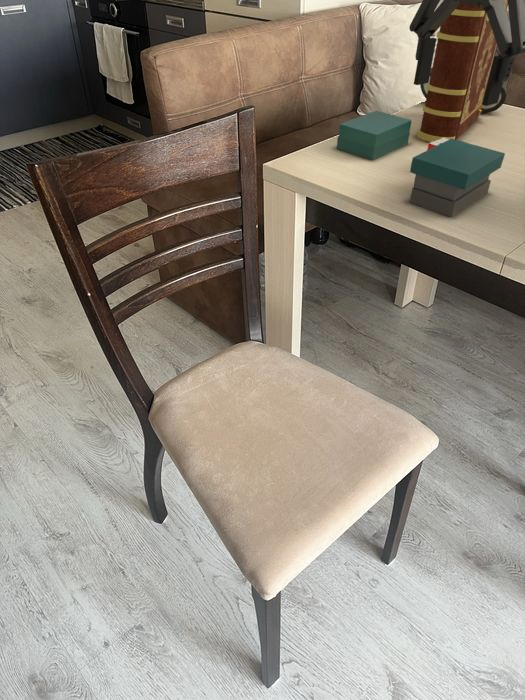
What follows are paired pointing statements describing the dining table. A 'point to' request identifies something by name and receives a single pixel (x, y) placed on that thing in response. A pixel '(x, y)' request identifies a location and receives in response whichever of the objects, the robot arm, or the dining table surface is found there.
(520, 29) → the robot arm
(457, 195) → the gray lidded box
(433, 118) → the decorative book
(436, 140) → the rubik's cube
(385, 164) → the dining table surface
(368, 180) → the dining table surface
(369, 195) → the dining table surface
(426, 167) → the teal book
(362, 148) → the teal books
